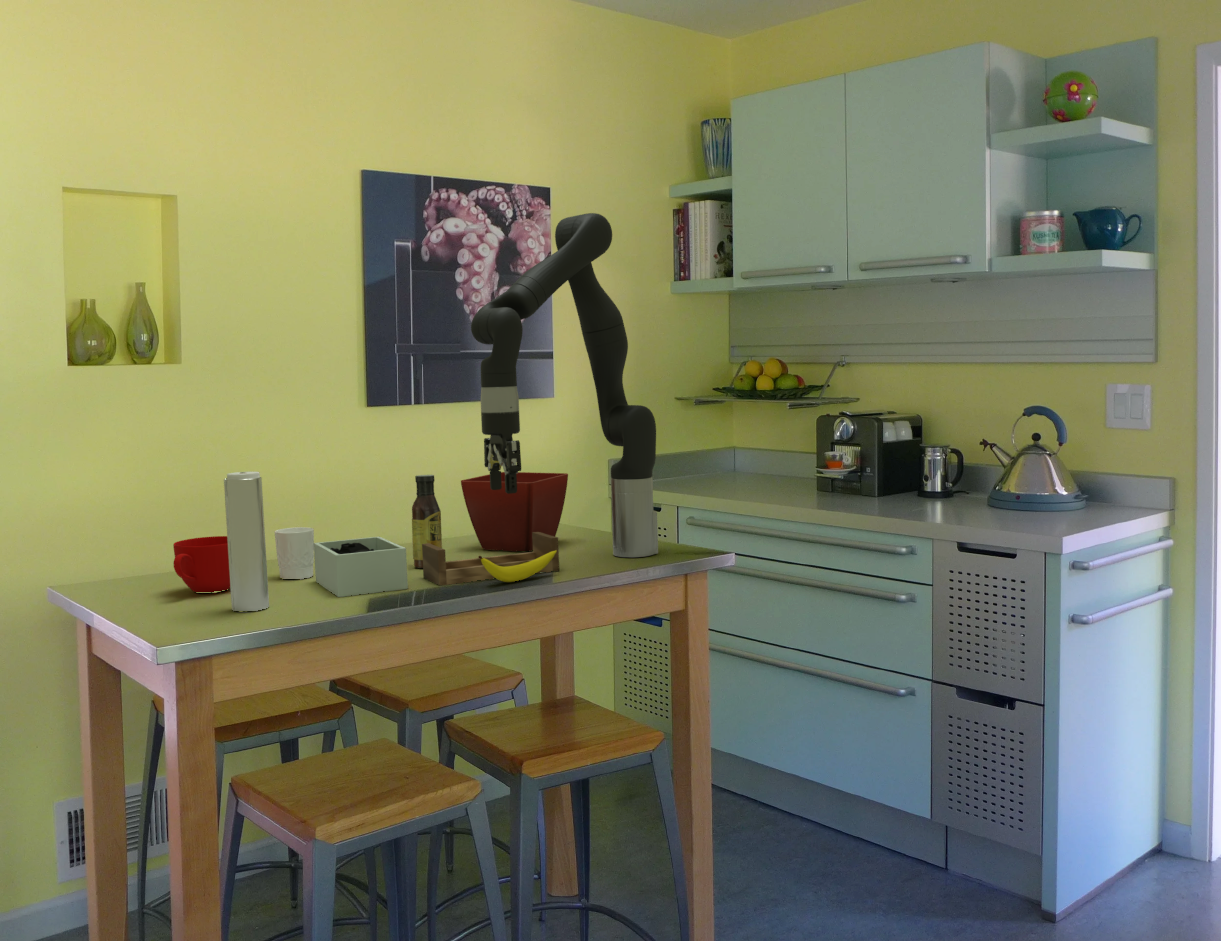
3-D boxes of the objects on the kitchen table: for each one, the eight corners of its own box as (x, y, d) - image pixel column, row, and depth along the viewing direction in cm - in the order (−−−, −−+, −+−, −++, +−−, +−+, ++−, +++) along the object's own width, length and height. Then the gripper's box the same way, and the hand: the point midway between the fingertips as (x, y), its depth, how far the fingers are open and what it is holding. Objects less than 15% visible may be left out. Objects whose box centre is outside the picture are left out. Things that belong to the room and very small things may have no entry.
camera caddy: (381, 574, 236) (379, 536, 235) (407, 588, 219) (405, 548, 219) (315, 581, 230) (313, 542, 229) (338, 597, 213) (336, 555, 212)
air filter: (236, 605, 208) (228, 471, 206) (272, 604, 209) (264, 470, 206) (228, 613, 202) (219, 474, 199) (264, 611, 202) (256, 473, 200)
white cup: (324, 574, 237) (321, 527, 236) (299, 581, 230) (296, 533, 229) (294, 572, 241) (292, 526, 240) (269, 579, 233) (266, 532, 233)
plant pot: (533, 555, 253) (530, 481, 251) (461, 552, 261) (458, 480, 260) (572, 542, 270) (570, 472, 269) (503, 539, 278) (501, 471, 277)
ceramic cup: (149, 601, 215) (145, 549, 214) (203, 583, 231) (200, 535, 230) (207, 602, 212) (204, 550, 211) (258, 585, 228) (255, 536, 227)
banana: (561, 574, 229) (560, 544, 228) (484, 589, 217) (483, 556, 216) (553, 573, 231) (552, 542, 231) (475, 587, 219) (474, 555, 218)
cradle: (539, 563, 242) (538, 531, 242) (559, 570, 233) (558, 537, 233) (423, 577, 230) (421, 543, 230) (439, 585, 222) (437, 550, 221)
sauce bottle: (436, 569, 239) (432, 476, 238) (409, 569, 241) (404, 476, 239) (447, 563, 246) (443, 473, 244) (420, 563, 247) (416, 473, 245)
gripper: (531, 409, 217) (534, 493, 219) (505, 408, 230) (508, 486, 232) (494, 411, 214) (498, 496, 216) (470, 410, 227) (473, 489, 228)
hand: (503, 491), depth 224 cm, fingers open, 8 cm apart
